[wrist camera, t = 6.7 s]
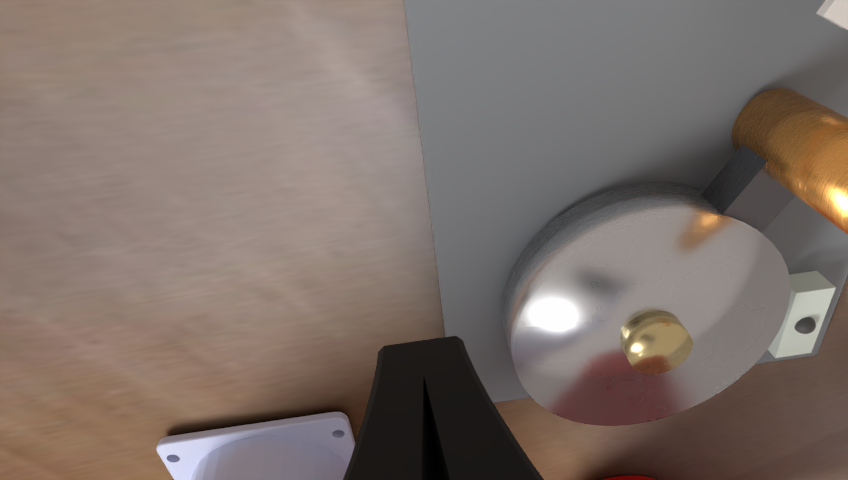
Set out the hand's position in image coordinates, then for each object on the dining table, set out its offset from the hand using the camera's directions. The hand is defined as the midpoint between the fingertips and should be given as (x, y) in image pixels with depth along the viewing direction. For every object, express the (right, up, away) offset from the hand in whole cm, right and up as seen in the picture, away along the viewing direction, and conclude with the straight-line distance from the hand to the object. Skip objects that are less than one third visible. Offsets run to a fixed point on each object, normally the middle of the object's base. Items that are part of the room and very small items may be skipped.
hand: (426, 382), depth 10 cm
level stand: (+8, +4, +10) cm, 13 cm away
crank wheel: (+8, +2, +9) cm, 12 cm away
